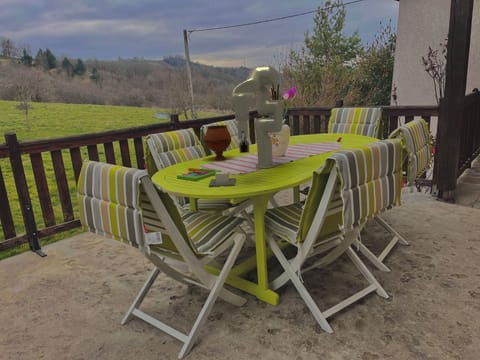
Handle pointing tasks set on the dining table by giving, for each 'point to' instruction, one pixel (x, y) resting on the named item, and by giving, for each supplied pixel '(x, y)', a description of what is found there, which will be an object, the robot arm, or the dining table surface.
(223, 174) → the cream brick
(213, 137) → the goblet
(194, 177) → the jigsaw puzzle tray
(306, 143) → the dining table surface
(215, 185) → the base plate
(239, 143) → the walnut cube
